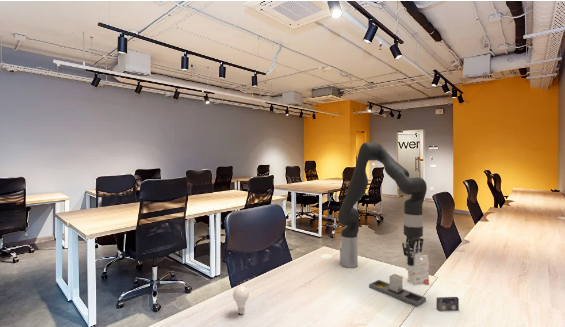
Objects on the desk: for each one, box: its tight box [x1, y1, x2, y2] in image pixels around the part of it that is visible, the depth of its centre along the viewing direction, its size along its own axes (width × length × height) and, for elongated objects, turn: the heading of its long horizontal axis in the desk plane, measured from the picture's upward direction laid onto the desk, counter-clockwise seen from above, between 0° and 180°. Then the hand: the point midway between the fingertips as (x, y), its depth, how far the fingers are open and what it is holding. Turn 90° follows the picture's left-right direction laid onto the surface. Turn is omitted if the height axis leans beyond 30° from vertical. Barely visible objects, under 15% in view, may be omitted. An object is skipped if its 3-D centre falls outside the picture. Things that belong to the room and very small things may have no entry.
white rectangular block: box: [405, 251, 421, 273], centre depth 120 cm, size 4×4×8 cm
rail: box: [368, 279, 427, 308], centre depth 126 cm, size 23×8×2 cm, turn 37°
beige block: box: [388, 273, 404, 295], centre depth 126 cm, size 4×4×8 cm
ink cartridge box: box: [407, 254, 430, 286], centre depth 138 cm, size 9×5×15 cm, turn 105°
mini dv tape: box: [435, 296, 460, 312], centre depth 113 cm, size 8×2×6 cm, turn 92°
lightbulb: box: [232, 285, 250, 315], centre depth 113 cm, size 6×6×11 cm
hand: (413, 263), depth 120 cm, fingers closed on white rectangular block, 4 cm apart
